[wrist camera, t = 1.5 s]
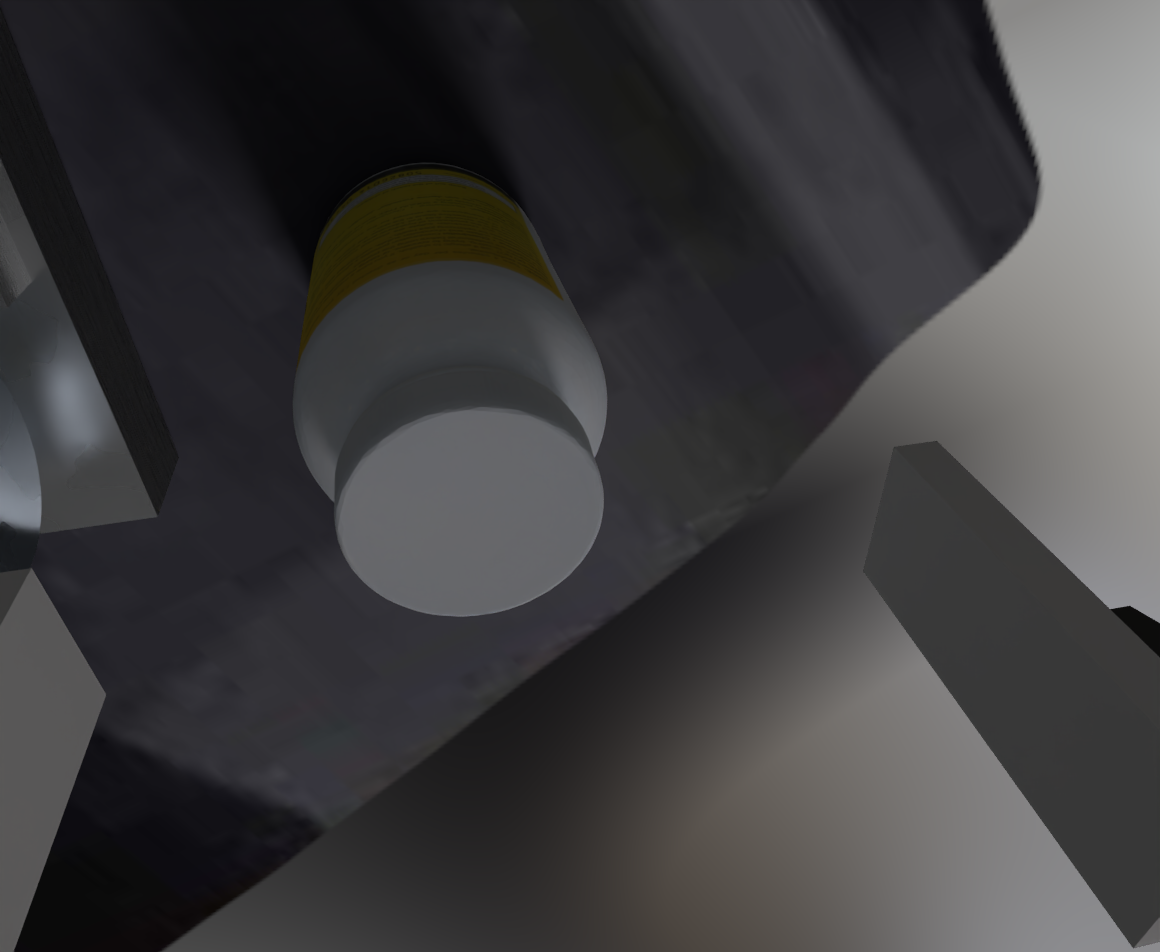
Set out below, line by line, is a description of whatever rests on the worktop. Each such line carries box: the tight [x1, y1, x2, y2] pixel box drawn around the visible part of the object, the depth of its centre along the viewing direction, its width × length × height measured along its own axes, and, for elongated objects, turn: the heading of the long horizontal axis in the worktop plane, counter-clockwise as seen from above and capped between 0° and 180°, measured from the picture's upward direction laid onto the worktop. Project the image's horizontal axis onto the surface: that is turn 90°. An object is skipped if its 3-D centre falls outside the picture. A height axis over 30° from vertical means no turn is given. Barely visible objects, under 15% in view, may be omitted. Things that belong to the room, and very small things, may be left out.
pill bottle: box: [293, 163, 607, 617], centre depth 18 cm, size 6×6×12 cm
